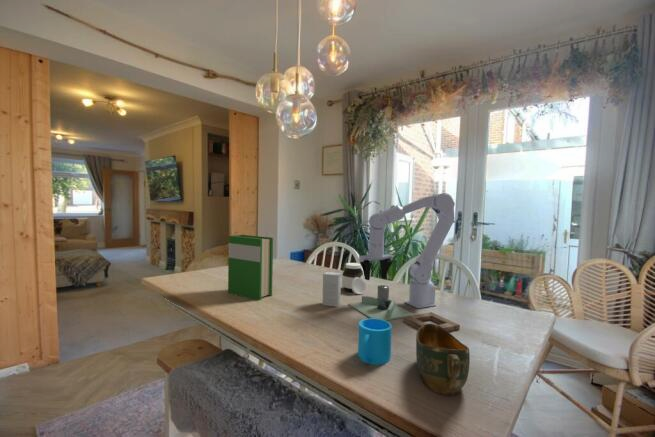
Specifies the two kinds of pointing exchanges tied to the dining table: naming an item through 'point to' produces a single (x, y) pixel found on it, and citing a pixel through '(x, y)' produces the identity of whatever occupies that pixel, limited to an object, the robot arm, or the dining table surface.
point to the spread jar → (353, 278)
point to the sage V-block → (371, 311)
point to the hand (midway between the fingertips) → (375, 278)
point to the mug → (374, 341)
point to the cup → (441, 359)
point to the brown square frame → (444, 323)
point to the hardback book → (250, 266)
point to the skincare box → (331, 289)
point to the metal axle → (382, 297)
